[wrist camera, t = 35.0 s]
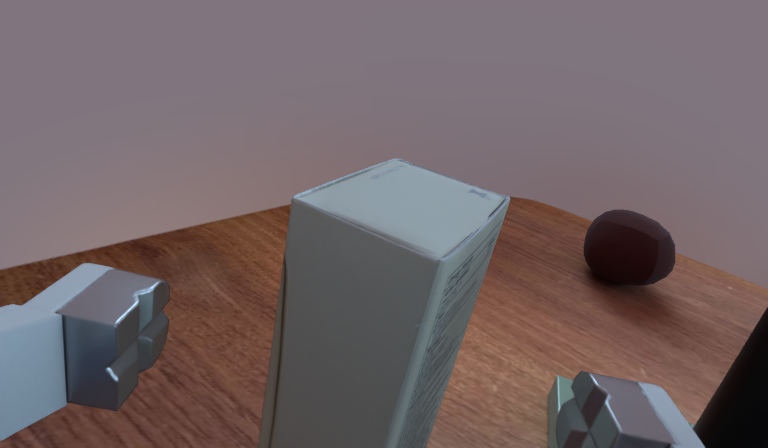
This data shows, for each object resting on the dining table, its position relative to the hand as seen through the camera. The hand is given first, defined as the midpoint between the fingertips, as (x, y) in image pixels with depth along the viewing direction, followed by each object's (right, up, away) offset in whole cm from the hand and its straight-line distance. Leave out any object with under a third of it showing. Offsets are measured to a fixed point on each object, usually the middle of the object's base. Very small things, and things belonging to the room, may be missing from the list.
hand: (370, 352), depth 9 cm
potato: (+21, -2, +33) cm, 39 cm away
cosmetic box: (-1, -8, +9) cm, 12 cm away
